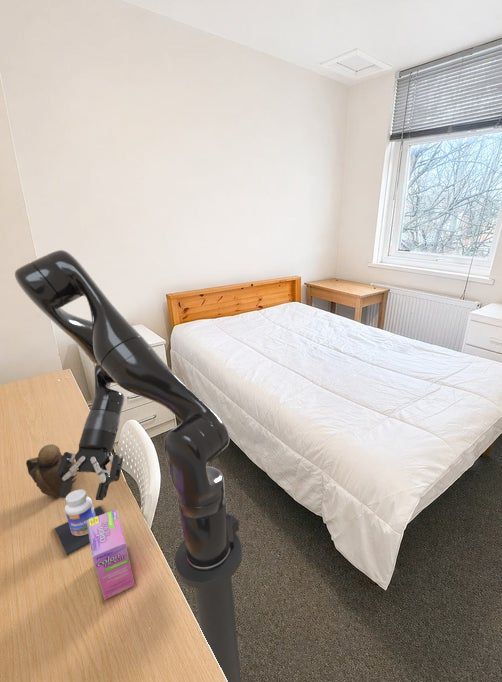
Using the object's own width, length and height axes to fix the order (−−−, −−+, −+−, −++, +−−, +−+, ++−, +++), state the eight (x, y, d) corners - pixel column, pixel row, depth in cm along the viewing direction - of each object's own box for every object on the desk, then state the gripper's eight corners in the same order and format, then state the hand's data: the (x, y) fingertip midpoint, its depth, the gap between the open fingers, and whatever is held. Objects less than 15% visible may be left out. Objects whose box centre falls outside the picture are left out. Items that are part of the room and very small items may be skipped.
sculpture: (83, 461, 101) (69, 436, 90) (81, 497, 95) (66, 475, 84) (39, 468, 98) (19, 443, 86) (34, 507, 92) (12, 485, 80)
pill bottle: (72, 540, 80) (61, 507, 76) (70, 524, 84) (60, 493, 80) (98, 530, 83) (90, 497, 79) (96, 515, 87) (87, 484, 83)
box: (136, 585, 71) (125, 542, 66) (104, 601, 68) (91, 557, 63) (126, 548, 78) (116, 508, 74) (98, 561, 76) (85, 519, 71)
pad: (100, 507, 90) (99, 505, 90) (115, 529, 83) (114, 527, 83) (55, 529, 83) (54, 528, 83) (67, 555, 77) (66, 554, 77)
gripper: (63, 425, 85) (41, 496, 79) (120, 428, 84) (102, 500, 78) (82, 432, 92) (63, 498, 86) (135, 435, 91) (119, 501, 85)
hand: (81, 499), depth 82 cm, fingers open, 8 cm apart
